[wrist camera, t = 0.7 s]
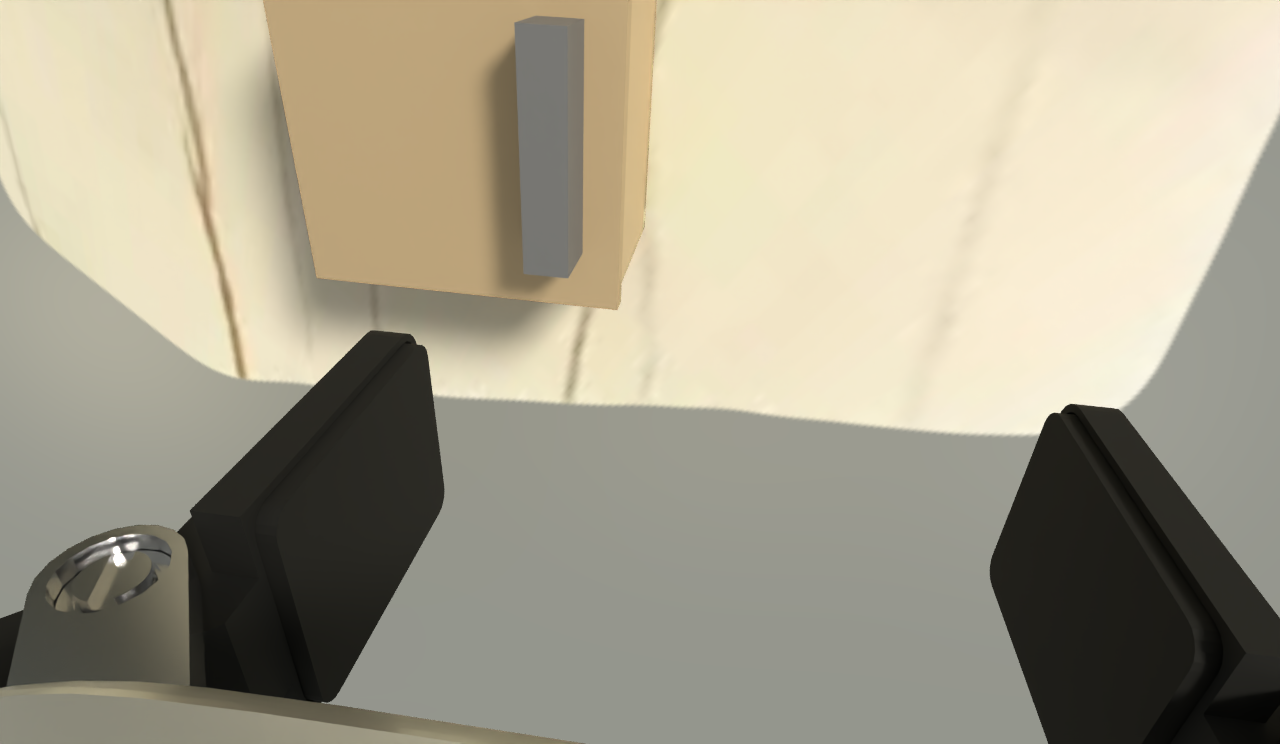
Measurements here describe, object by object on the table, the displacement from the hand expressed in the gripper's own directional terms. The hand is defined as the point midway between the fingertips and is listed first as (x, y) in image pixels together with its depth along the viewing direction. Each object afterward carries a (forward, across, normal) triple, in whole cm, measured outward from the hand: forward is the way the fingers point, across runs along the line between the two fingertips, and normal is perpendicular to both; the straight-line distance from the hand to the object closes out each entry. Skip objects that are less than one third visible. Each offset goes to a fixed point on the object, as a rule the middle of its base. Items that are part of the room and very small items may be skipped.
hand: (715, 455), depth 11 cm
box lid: (+18, +10, 0) cm, 20 cm away
